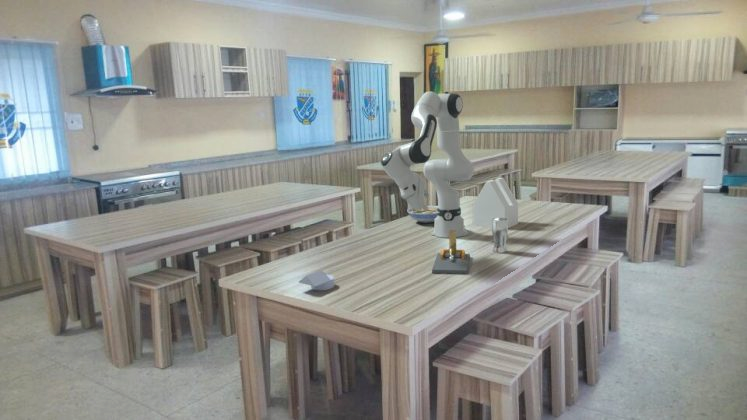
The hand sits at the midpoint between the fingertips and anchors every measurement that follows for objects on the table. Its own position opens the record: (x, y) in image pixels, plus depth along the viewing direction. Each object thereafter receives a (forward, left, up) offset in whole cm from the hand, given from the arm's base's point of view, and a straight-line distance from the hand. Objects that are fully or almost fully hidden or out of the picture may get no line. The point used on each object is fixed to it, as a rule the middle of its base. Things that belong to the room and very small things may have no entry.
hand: (427, 202), depth 246 cm
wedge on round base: (+51, -36, -24) cm, 67 cm away
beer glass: (-4, +32, -23) cm, 40 cm away
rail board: (+18, +12, -23) cm, 32 cm away
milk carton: (-58, +30, -24) cm, 69 cm away
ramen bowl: (-64, -8, -23) cm, 69 cm away
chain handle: (+14, +12, -21) cm, 28 cm away
